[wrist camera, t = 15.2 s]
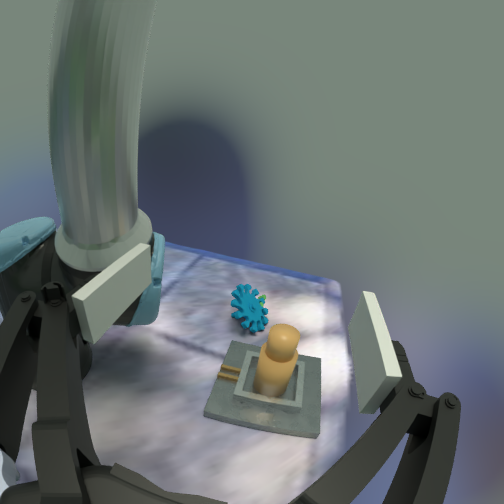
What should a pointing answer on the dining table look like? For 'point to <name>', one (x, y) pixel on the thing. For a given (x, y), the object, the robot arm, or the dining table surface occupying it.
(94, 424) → the dining table surface
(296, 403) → the junction box
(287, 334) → the stacked tan cylinders
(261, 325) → the gear
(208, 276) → the dining table surface
